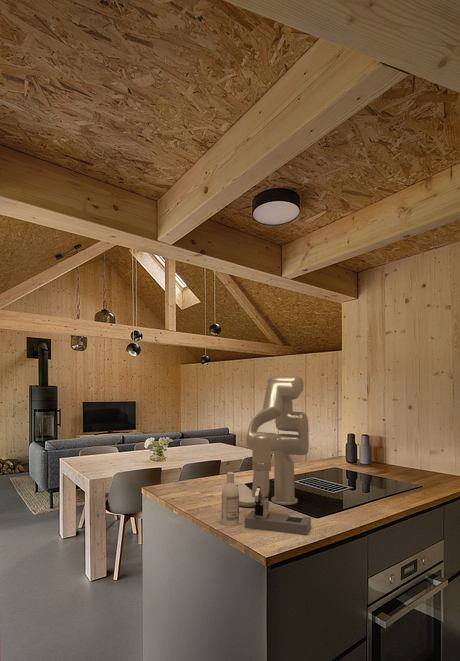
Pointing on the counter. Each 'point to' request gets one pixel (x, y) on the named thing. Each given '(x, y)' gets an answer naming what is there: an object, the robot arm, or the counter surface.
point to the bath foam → (230, 502)
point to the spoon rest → (245, 496)
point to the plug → (264, 508)
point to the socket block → (279, 523)
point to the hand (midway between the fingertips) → (261, 512)
